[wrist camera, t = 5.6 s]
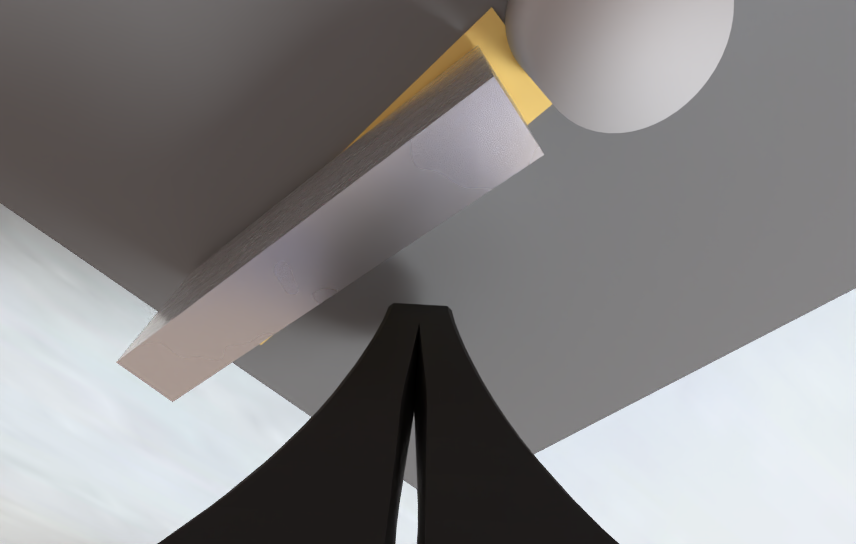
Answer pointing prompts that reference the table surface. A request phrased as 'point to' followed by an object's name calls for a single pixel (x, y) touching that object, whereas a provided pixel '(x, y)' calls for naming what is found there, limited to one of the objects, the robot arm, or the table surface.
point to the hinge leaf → (339, 225)
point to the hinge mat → (488, 215)
